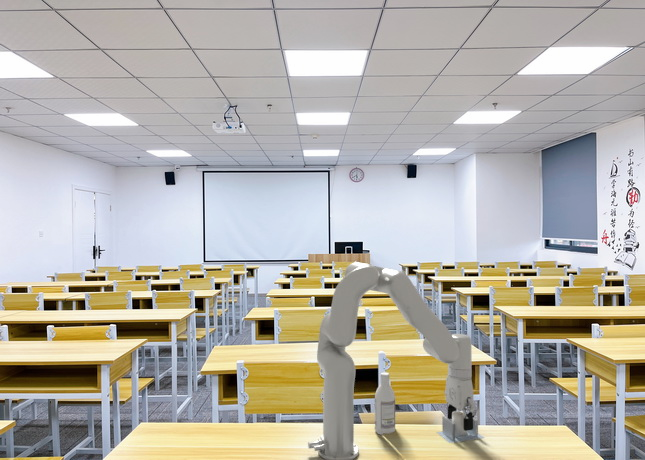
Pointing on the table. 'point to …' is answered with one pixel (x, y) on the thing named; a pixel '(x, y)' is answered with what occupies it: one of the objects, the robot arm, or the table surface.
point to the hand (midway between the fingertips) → (460, 423)
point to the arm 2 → (474, 428)
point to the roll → (459, 423)
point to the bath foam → (384, 407)
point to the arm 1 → (448, 428)
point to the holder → (461, 438)
